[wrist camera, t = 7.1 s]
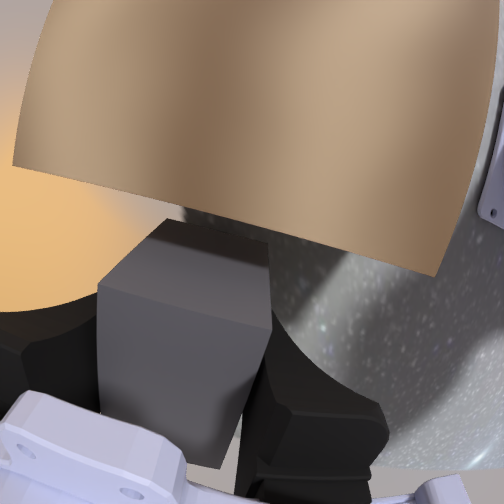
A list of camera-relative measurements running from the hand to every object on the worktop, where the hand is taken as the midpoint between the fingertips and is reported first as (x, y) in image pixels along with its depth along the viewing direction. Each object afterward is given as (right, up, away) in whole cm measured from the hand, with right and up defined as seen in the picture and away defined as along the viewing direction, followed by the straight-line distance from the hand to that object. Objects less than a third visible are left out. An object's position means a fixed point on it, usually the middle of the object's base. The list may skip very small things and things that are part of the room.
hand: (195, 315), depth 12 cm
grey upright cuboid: (0, 0, +1) cm, 2 cm away
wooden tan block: (+3, +10, -5) cm, 12 cm away
